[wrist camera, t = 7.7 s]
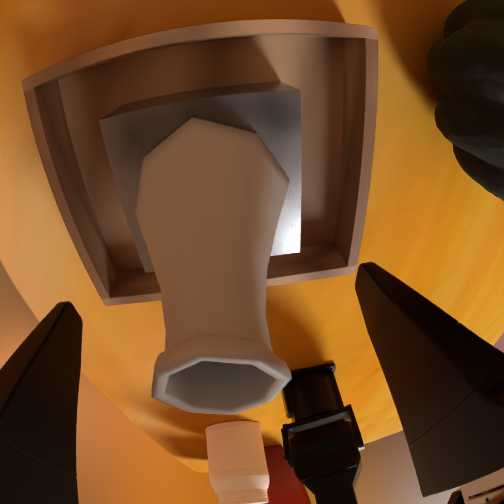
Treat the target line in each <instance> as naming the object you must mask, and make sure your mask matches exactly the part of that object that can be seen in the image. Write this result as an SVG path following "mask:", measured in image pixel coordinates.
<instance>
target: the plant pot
mask: <svg viewBox="0 0 504 504" xmlns="http://www.w3.org/2000/svg"><path fill="white" fill-rule="evenodd" d="M264 452H265V458H266V464H267V469H268V473H269V487H268V489H267V495H268V501H269V502H268V503H264V504H311V502H310V499H309V496H308V494H307V491H306V489H305V487H304V484H303V483H302V482H301V481H300V480H299V479H298V478H297V477H296V476H295V471H294V470H292V469H291V468H290V466H289V464H288V462H286V461H284V460H283V447H282V446H276V447H267V448H264Z"/></svg>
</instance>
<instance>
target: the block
mask: <svg viewBox="0 0 504 504" xmlns="http://www.w3.org/2000/svg"><path fill="white" fill-rule="evenodd" d="M191 118H197V119H201V120H206V121H210V122H214V123H218V124H222V125H226V126H230V127H234V128H237V129H241V130H245V131H248V132H252V133H255V134H257V135H258V137H259V138H260V139H261V141H262V142H263V143H264V145H265V146H266V148H267V149H268V150H269V152H270V153H271V154H272V156H273V157H274V159H275V160H276V161H277V163H278V164H279V166H280V167H281V168H282V170H283V171H284V173H285V174H286V176H287V177H288V178H289V180H290V182H289V186H288V190H287V194H286V197H285V201H284V204H283V207H282V211H281V214H280V217H279V221H278V225H277V229H276V233H275V238H274V242H273V246H272V250H271V254H270V256H274V255H282V254H289V253H296V252H300V234H301V175H302V150H301V93H300V90H299V89H296V88H294V87H292V86H290V85H287V84H285V83H282V82H267V83H252V84H240V85H230V86H221V87H213V88H206V89H199V90H192V91H186V92H180V93H174V94H169V95H164V96H159V97H154V98H149V99H145V100H140V101H136V102H132V103H128V104H124V105H121V106H120V107H118V108H117V109H115V110H114V111H112V112H111V113H109V114H108V115H106V116H105V117H103V118H102V119H100V120H99V122H100V127H101V131H102V135H103V139H104V143H105V147H106V151H107V155H108V159H109V163H110V166H111V170H112V174H113V177H114V181H115V184H116V187H117V191H118V194H119V197H120V201H121V204H122V207H123V210H124V213H125V216H126V219H127V222H128V225H129V228H130V231H131V234H132V237H133V240H134V243H135V246H136V248H137V251H138V254H139V257H140V259H141V262H142V265H143V267H144V270H145V273H146V272H154V267H153V264H152V261H151V258H150V255H149V252H148V248H147V245H146V243H145V240H144V237H143V234H142V232H141V229H140V226H139V223H138V221H137V217H136V213H135V208H136V201H137V194H138V187H139V181H140V175H141V169H142V164H143V158H144V157H145V156H146V155H147V154H149V153H150V152H151V151H152V150H153V149H154V148H156V147H157V146H158V145H159V144H160V143H161V142H163V141H164V140H165V139H166V138H167V137H169V136H170V135H171V134H172V133H174V132H175V131H176V130H177V129H179V128H180V127H181V126H182V125H184V124H185V123H186V122H187V121H189V120H190V119H191Z"/></svg>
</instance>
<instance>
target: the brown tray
mask: <svg viewBox="0 0 504 504" xmlns="http://www.w3.org/2000/svg"><path fill="white" fill-rule="evenodd" d="M267 82H282V83H285V84H287V85H290V86H292V87H294V88H296V89H299V90H300V93H301V150H302V175H301V234H300V252H296V253H289V254H282V255H274V256H270V259H269V263H268V267H267V284H266V287H269V286H276V285H282V284H289V283H296V282H302V281H309V280H315V279H321V278H327V277H334V276H340V275H346V274H351V273H355V272H356V267H357V261H358V256H359V251H360V245H361V240H362V234H363V228H364V222H365V215H366V209H367V202H368V195H369V187H370V179H371V170H372V161H373V151H374V140H375V127H376V111H377V88H378V29H377V28H376V27H370V26H363V25H356V24H349V23H340V22H330V21H317V20H295V19H263V20H242V21H228V22H218V23H209V24H201V25H194V26H188V27H182V28H176V29H171V30H165V31H161V32H156V33H151V34H147V35H143V36H139V37H135V38H131V39H127V40H124V41H120V42H117V43H113V44H110V45H107V46H104V47H101V48H97V49H95V50H92V51H89V52H86V53H83V54H80V55H78V56H75V57H73V58H70V59H67V60H65V61H63V62H60V63H58V64H55V65H53V66H51V67H49V68H46V69H44V70H42V71H40V72H38V73H36V74H33V75H31V76H29V77H27V78H25V79H23V80H22V85H23V90H24V95H25V100H26V104H27V109H28V113H29V117H30V121H31V125H32V129H33V133H34V137H35V140H36V144H37V147H38V150H39V154H40V157H41V160H42V163H43V166H44V169H45V172H46V175H47V178H48V181H49V184H50V187H51V190H52V192H53V195H54V198H55V200H56V203H57V205H58V208H59V211H60V213H61V215H62V218H63V220H64V223H65V225H66V227H67V230H68V232H69V234H70V237H71V239H72V241H73V243H74V246H75V248H76V250H77V252H78V254H79V256H80V258H81V260H82V262H83V265H84V267H85V269H86V271H87V273H88V275H89V277H90V278H91V280H92V282H93V284H94V286H95V288H96V290H97V292H98V294H99V295H100V297H101V299H102V301H103V303H104V305H105V306H109V305H119V304H130V303H139V302H149V301H158V300H162V297H161V289H160V286H159V283H158V280H157V277H156V274H155V271H154V272H146V273H145V270H144V267H143V265H142V262H141V259H140V257H139V254H138V251H137V248H136V246H135V243H134V240H133V237H132V234H131V231H130V228H129V225H128V222H127V219H126V216H125V213H124V210H123V207H122V204H121V201H120V197H119V194H118V191H117V187H116V184H115V181H114V177H113V174H112V170H111V166H110V163H109V159H108V155H107V151H106V147H105V143H104V139H103V135H102V131H101V127H100V122H99V120H100V119H102V118H103V117H105V116H106V115H108V114H109V113H111V112H112V111H114V110H115V109H117V108H118V107H120V106H121V105H124V104H128V103H132V102H136V101H140V100H145V99H149V98H154V97H159V96H164V95H169V94H174V93H180V92H186V91H192V90H199V89H206V88H213V87H221V86H230V85H240V84H252V83H267Z"/></svg>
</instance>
